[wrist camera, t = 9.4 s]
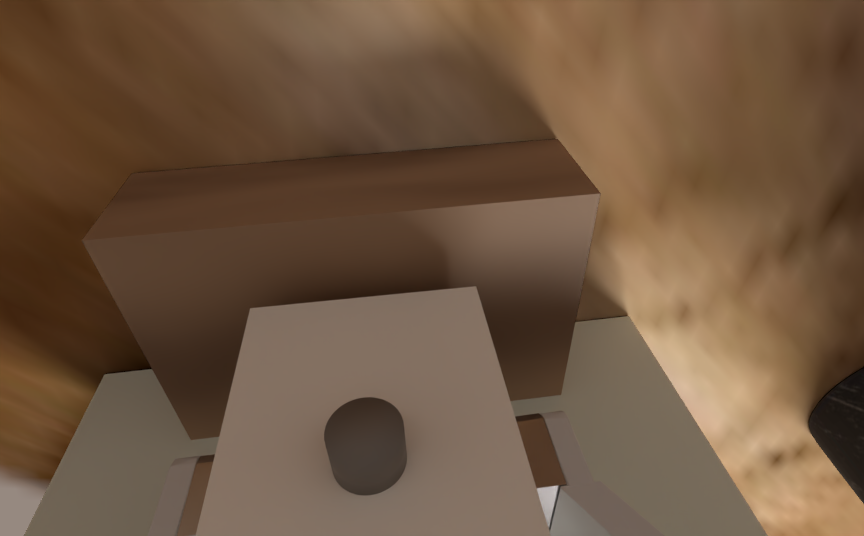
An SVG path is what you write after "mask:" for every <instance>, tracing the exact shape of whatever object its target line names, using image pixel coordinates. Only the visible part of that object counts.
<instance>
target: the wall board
mask: <svg viewBox="0 0 864 536" xmlns="http://www.w3.org/2000/svg"><path fill="white" fill-rule="evenodd" d="M511 405H512V408H513V411H514V415H515V416H522V415H529V414H536V413H539V414H541V413H549V412H556V411H564V412H565V414H566V415H567V416H568V418H569V421H570V423H571V426H572V428H573V431H574V433H575V436H576V438H577V441H578V443H579V446H580V448H581V451H582V453H583V456H584V458H585V461H586V463H587V466H588V468H589V470H590V473H591V475H592V478H593V480H594V482H597V481H601V482H603V483H604V484H605V485H606V486H607V487H608V488H610V489H611V490H612V491H613V492H614V493H615V494H617V495H618V496H619V497H620V498H621V499H622V500H624V501H625V502H626V503H627V504H628V505H629V506H631V507H632V508H633V509H634V510H635V511H636V512H638V513H639V514H640V515H641V516H642V517H643V518H645V519H646V520H647V521H648V522H649V523H650V524H652V525H653V526H654V527H655V528H656V529H657V530H659V531H660V532H661V533H662V534H663V535H665V536H768V535H767V534H766V532H765V531H764V529H763V528H762V526H761V524H760V523H759V521H758V520H757V518H756V516H755V515H754V513H753V512H752V510H751V509H750V507H749V505H748V504H747V502H746V501H745V499H744V497H743V496H742V494H741V493H740V491H739V490H738V488H737V486H736V485H735V483H734V482H733V480H732V478H731V477H730V475H729V474H728V472H727V470H726V469H725V467H724V466H723V464H722V463H721V461H720V459H719V458H718V456H717V455H716V453H715V451H714V450H713V448H712V447H711V445H710V444H709V442H708V440H707V439H706V437H705V436H704V434H703V432H702V431H701V429H700V428H699V426H698V425H697V423H696V421H695V420H694V418H693V417H692V415H691V413H690V412H689V410H688V409H687V407H686V406H685V404H684V402H683V401H682V399H681V398H680V396H679V394H678V393H677V391H676V390H675V388H674V387H673V385H672V383H671V382H670V380H669V379H668V377H667V375H666V374H665V372H664V371H663V369H662V367H661V366H660V364H659V363H658V361H657V360H656V358H655V356H654V355H653V353H652V352H651V350H650V348H649V347H648V345H647V344H646V342H645V341H644V339H643V337H642V336H641V334H640V333H639V331H638V329H637V328H636V326H635V325H634V323H633V322H632V320H631V318H630V317H629V316H626V317H617V318H608V319H599V320H590V321H581V322H575V326H574V332H573V337H572V342H571V347H570V352H569V357H568V362H567V367H566V372H565V378H564V383H563V388H562V393H561V395H556V396H548V397H540V398H531V399H523V400H515V401H511ZM218 440H219V437H213V438H205V439H196V440H191V439H190V437H189V436H188V434H187V432H186V430H185V428H184V427H183V425H182V423H181V421H180V419H179V417H178V416H177V414H176V412H175V410H174V408H173V406H172V405H171V403H170V401H169V399H168V397H167V396H166V394H165V392H164V390H163V388H162V386H161V385H160V383H159V381H158V379H157V377H156V375H155V374H154V372H153V370H152V369H148V370H139V371H130V372H121V373H112V374H104V376H103V378H102V380H101V382H100V384H99V386H98V388H97V390H96V392H95V394H94V396H93V398H92V400H91V402H90V404H89V406H88V408H87V410H86V412H85V414H84V416H83V418H82V420H81V422H80V424H79V426H78V428H77V430H76V432H75V434H74V436H73V438H72V440H71V442H70V444H69V446H68V448H67V450H66V452H65V454H64V456H63V458H62V460H61V462H60V464H59V466H58V468H57V470H56V472H55V474H54V476H53V478H52V480H51V482H50V484H49V486H48V488H47V490H46V492H45V494H44V496H43V498H42V500H41V503H40V504H39V507H38V508H37V510H36V512H35V515H34V517H33V518H32V520H31V523H30V524H29V527H28V528H27V530H26V533H25V534H24V536H148V533H149V530H150V527H151V524H152V521H153V518H154V514H155V511H156V508H157V505H158V502H159V498H160V495H161V492H162V489H163V486H164V483H165V479H166V476H167V473H168V470H169V467H170V466H171V464H172V463H173V461H174V460H175V459H178V458H186V457H193V456H201V455H202V456H205V455H213V454H215V453H216V448H217V444H218Z"/></svg>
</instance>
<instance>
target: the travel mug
mask: <svg viewBox="0 0 864 536" xmlns="http://www.w3.org/2000/svg"><path fill="white" fill-rule="evenodd" d="M809 429H810V432H811V434H812V436H813V437H814V439H815V440H816V442H817V443H818V445H819V446H820V447H821V449H822V450H823V451H824V453H825V454H826V455H827V457H828V458H829V459H830V461H831V462H832V463H833V465H834V466H835V467H836V468H837V470H838V471H839V472H840V474H841V475H842V476H843V478H844V479H845V480H846V481H847V483H848V484H849V485H850V487H851V488H852V489H853V490H854V492H855V493H856V494H857V496H858V497H859V498H860V499H861V501H862V502H863V503H864V368H863V369H861V370H859V371H858V372H856V373H854V374H853V375H851V376H850V377H848V378H847V379H845V380H844V381H842V382H841V383H840V384H838V385H837V386H836V387H835V388H834V389H832V390H831V391H830V392H829V393H828V394H827V395H826V396H825V397H824V398H823V399H822V400H821V401H820V402H819V404H818V405H817V406H816V408H815V409H814V411H813V413H812V415H811V417H810V421H809Z"/></svg>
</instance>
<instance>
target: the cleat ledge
mask: <svg viewBox="0 0 864 536" xmlns="http://www.w3.org/2000/svg"><path fill="white" fill-rule="evenodd" d="M600 194H601V193H600V192H599V191H598V190H597V188H596V187H595V186H594V184H593V183H592V182H591V181H590V179H589V178H588V177H587V176H586V174H585V173H584V172H583V170H582V169H581V168H580V167H579V165H578V164H577V163H576V162H575V160H574V159H573V158H572V156H571V155H570V154H569V153H568V151H567V150H566V149H565V148H564V146H563V145H562V144H561V142H560V141H559V140H558V139H549V140H537V141H524V142H512V143H500V144H487V145H475V146H463V147H450V148H438V149H426V150H414V151H401V152H389V153H377V154H364V155H352V156H340V157H327V158H315V159H303V160H291V161H278V162H266V163H254V164H241V165H229V166H217V167H204V168H192V169H180V170H167V171H155V172H143V173H132V174H131V175H130V176H129V178H128V179H127V180H126V182H125V183H124V184H123V186H122V187H121V188H120V190H119V191H118V192H117V194H116V195H115V196H114V198H113V199H112V200H111V202H110V203H109V204H108V206H107V207H106V208H105V210H104V211H103V212H102V214H101V215H100V216H99V218H98V219H97V220H96V222H95V223H94V224H93V226H92V227H91V229H90V230H89V231H88V233H87V234H86V235H85V237H84V238H83V239H82V242H83V244H84V246H85V248H86V250H87V251H88V253H89V255H90V257H91V259H92V260H93V262H94V264H95V266H96V268H97V270H98V271H99V273H100V275H101V277H102V279H103V281H104V282H105V284H106V286H107V288H108V290H109V292H110V293H111V295H112V297H113V299H114V301H115V302H116V304H117V306H118V308H119V310H120V312H121V313H122V315H123V317H124V319H125V321H126V323H127V324H128V326H129V328H130V330H131V332H132V333H133V335H134V337H135V339H136V341H137V343H138V344H139V346H140V348H141V350H142V352H143V354H144V355H145V357H146V359H147V361H148V363H149V364H150V366H151V368H152V370H153V372H154V374H155V375H156V377H157V379H158V381H159V383H160V385H161V386H162V388H163V390H164V392H165V394H166V396H167V397H168V399H169V401H170V403H171V405H172V406H173V408H174V410H175V412H176V414H177V416H178V417H179V419H180V421H181V423H182V425H183V427H184V428H185V430H186V432H187V434H188V436H189V437H190V439H191V440H196V439H205V438H213V437H219V436H220V432H221V428H222V423H223V419H224V415H225V411H226V407H227V403H228V398H229V394H230V390H231V386H232V382H233V378H234V373H235V369H236V365H237V361H238V357H239V353H240V348H241V344H242V340H243V336H244V332H245V328H246V324H247V319H248V315H249V311H250V308H258V307H268V306H279V305H289V304H299V303H309V302H320V301H330V300H340V299H350V298H361V297H371V296H381V295H391V294H402V293H412V292H422V291H432V290H443V289H453V288H463V287H473V286H476V288H477V291H478V294H479V298H480V301H481V304H482V308H483V311H484V314H485V318H486V321H487V324H488V328H489V331H490V334H491V338H492V341H493V344H494V348H495V351H496V355H497V358H498V361H499V365H500V368H501V371H502V375H503V378H504V381H505V385H506V388H507V391H508V395H509V398H510V401H515V400H523V399H531V398H540V397H548V396H556V395H561V393H562V388H563V383H564V378H565V372H566V367H567V362H568V357H569V352H570V347H571V342H572V337H573V332H574V326H575V321H576V316H577V311H578V306H579V301H580V296H581V291H582V286H583V280H584V275H585V270H586V265H587V260H588V255H589V250H590V245H591V240H592V235H593V229H594V224H595V219H596V214H597V209H598V204H599V199H600Z"/></svg>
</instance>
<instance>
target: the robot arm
mask: <svg viewBox="0 0 864 536" xmlns="http://www.w3.org/2000/svg"><path fill="white" fill-rule="evenodd" d="M515 418H516V421H517V425H518V428H519V431H520V435H521V438H522V442H523V445H524V448H525V452H526V455H527V458H528V462H529V465H530V468H531V472H532V475H533V478H534V482H535V485H536V488H537V492H538V495H539V498H540V502H541V505H542V508H543V512H544V515H545V518H546V522H547V525H548V529H549V532H550V535H551V536H665V535H663V534H662V533H661V532H660V531H659V530H657V529H656V528H655V527H654V526H653V525H652V524H650V523H649V522H648V521H647V520H646V519H645V518H643V517H642V516H641V515H640V514H639V513H638V512H636V511H635V510H634V509H633V508H632V507H631V506H629V505H628V504H627V503H626V502H625V501H624V500H622V499H621V498H620V497H619V496H618V495H617V494H615V493H614V492H613V491H612V490H611V489H610V488H608V487H607V486H606V485H605V484H604V483H603V482H601V481H597V482H594V480H593V478H592V475H591V473H590V470H589V468H588V466H587V463H586V461H585V458H584V456H583V453H582V451H581V448H580V446H579V443H578V441H577V438H576V436H575V433H574V431H573V428H572V426H571V423H570V421H569V418H568V416H567V415H566V414H565V412H564V411H556V412H549V413H541V414H539V413H536V414H529V415H522V416H515ZM214 457H215V454H213V455H205V456H202V455H201V456H193V457H186V458H178V459H175V460H174V461H173V463H172V464H171V466H170V467H169V470H168V473H167V476H166V479H165V483H164V486H163V489H162V492H161V495H160V498H159V502H158V505H157V508H156V511H155V514H154V518H153V521H152V524H151V527H150V530H149V533H148V536H196V532H197V528H198V523H199V519H200V515H201V511H202V507H203V503H204V498H205V494H206V490H207V486H208V482H209V478H210V473H211V469H212V465H213V461H214Z"/></svg>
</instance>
